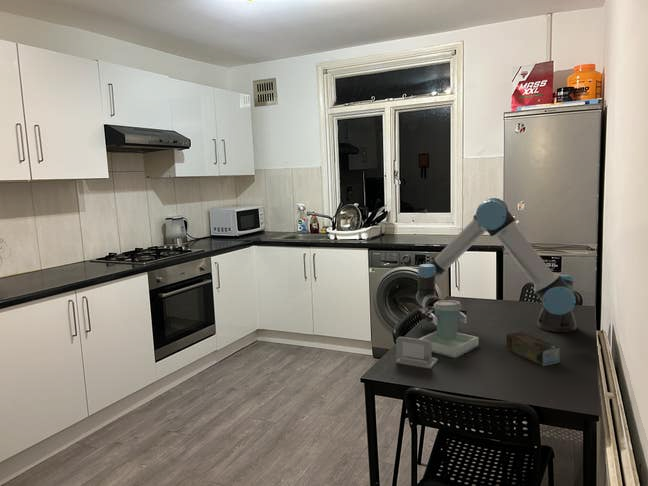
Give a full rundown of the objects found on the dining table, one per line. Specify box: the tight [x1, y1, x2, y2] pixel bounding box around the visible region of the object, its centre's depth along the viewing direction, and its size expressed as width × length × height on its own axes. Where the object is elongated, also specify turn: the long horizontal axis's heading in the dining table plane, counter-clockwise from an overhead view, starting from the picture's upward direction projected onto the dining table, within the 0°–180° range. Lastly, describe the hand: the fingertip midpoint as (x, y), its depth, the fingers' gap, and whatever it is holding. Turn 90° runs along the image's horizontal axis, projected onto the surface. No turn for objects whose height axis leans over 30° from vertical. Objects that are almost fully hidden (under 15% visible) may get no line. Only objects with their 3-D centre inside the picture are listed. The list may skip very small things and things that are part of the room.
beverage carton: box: [506, 331, 561, 367], centre depth 182 cm, size 8×19×7 cm, turn 19°
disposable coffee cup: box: [434, 299, 463, 341], centre depth 193 cm, size 11×11×15 cm
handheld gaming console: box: [395, 336, 439, 370], centre depth 180 cm, size 13×9×10 cm
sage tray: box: [419, 330, 480, 359], centre depth 194 cm, size 17×17×4 cm
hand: (451, 320), depth 189 cm, fingers closed on disposable coffee cup, 11 cm apart
